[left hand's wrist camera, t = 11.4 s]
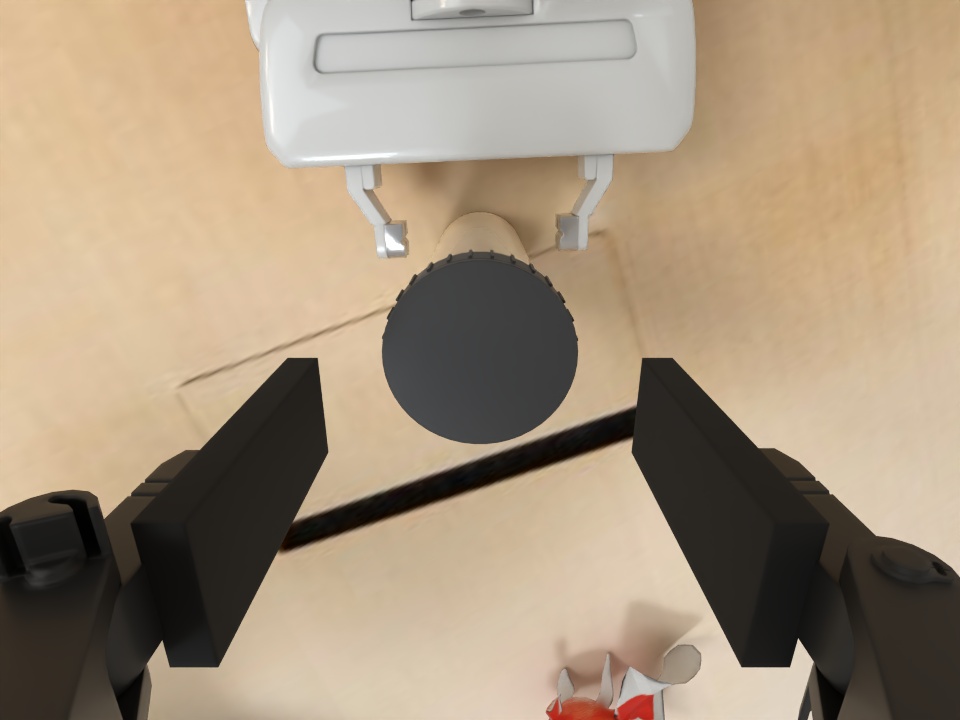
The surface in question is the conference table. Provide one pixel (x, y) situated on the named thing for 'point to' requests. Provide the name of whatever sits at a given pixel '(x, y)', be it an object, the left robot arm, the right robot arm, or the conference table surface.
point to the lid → (480, 348)
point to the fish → (627, 691)
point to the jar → (480, 237)
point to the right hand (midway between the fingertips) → (482, 253)
